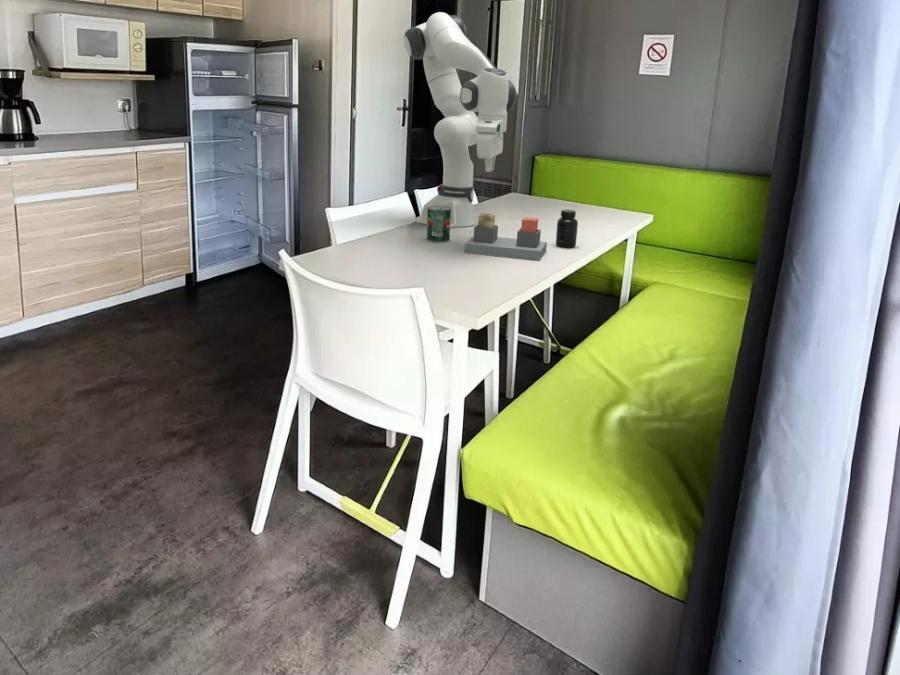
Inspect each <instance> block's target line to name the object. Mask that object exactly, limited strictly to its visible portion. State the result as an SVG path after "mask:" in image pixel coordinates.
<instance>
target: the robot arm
mask: <svg viewBox="0 0 900 675" xmlns="http://www.w3.org/2000/svg"><path fill="white" fill-rule="evenodd" d="M403 44H404V49H405V51H406V52H407V54H408V56H409V57H410V58H411V59H413V60H422V61H423V62H422V63H423V64H422V65H423V69H424V74H425V78H426V82H427V86H428V88H429V90H430V95H431V96H432V100H433V103H434V105H435V107H436V108H437V109H438V110H440V112H441V114H442V115H443V116H444V117H443V119H441V120H439V121H438V122H437V123H436V125H435V126H434V130H433V135H434V139H435V141H436V143H437V144H438V145H439V148H440V152H441V156H442V164H443V171H442V172H443V173H442V174H443V175H442V183H441V184H439V186H437V188H436V192H437V194H436V195H435V196H434V197H433V198H431V199H430V200H429V201H427V202H426V203H425V204H423V206H422V210H421V215H419V216H417V217H416V218H415V223H417V224H422V225H427V214H428V213H427V212H428V207H429V206H447V207H450V208H451V217H450V218H451V219H450V229H451V228H459V227H461V228H462V227H470V226H474V225H475V224H476V222H475V217H474V210H473V202H474V194H475V192H474V191H475V190H474V185H473V184H474V181H473V180H474V162H473V161H472V160H471V157H470V152H469V147H471V146H474V145H476V155H477V158H478V159H480V160H484V165H485V171H486V172H488V173H489V172H492V171H494V168H495V162H496V158H497V156H498V155H500V154H502V153H503V149H504V133H506V132H507V124H508V113H509V112H510V111H511V110H512V109H513V108H514V106H515V104H516V102H517V100H518V92H517V89H516V86H515V85H514V84H513V82H512V81H511V80H510V79H509V76H508V73H507V72H506V71H505V70H503V69H501V68H497V67H496V66H495V64H494V63H493V62H492V61H491V60H490V58H489V57H488V56H487V55H486V54H485V53H484V52H483V51H482V50H481V49H480V48H478V47H477V46H476V45H474V44H473V43H472V41H470V40H469V38H468V37H467V28H466V25H465V23H464V20H463V19H462V18H461V17H460V16H459V15H456V14H453V15H452V14H448V13H446V12H442V11H438V12H435V13H433V14H431V15H430V16H429V18H428V19H427V21H426V22H423V23H421V24H418V25H416V26H412V27H410V28H408V29H407V30H406V31H405V32H404V35H403ZM457 70H461V71H466V72H469V73H471V74H474V75H476V77H474V78H472V79H470V80H466V81H465V82H464V83H463V85H462V84H461V81H460V78H459V75H458V72H457ZM476 112H478V116H477V114H476Z"/></svg>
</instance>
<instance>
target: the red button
mask: <svg viewBox="0 0 900 675" xmlns="http://www.w3.org/2000/svg"><path fill="white" fill-rule="evenodd" d="M538 225H539V218H537V217H523V218H522V219H521V227H520V228H521V232H531V233H536V232H537V229H538Z"/></svg>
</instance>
